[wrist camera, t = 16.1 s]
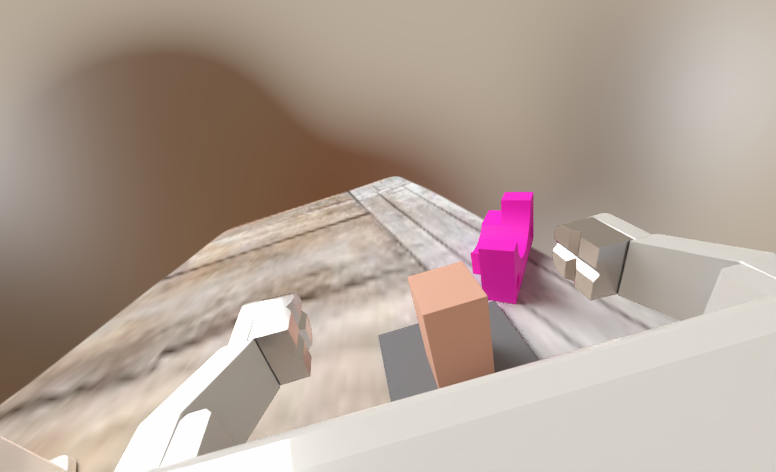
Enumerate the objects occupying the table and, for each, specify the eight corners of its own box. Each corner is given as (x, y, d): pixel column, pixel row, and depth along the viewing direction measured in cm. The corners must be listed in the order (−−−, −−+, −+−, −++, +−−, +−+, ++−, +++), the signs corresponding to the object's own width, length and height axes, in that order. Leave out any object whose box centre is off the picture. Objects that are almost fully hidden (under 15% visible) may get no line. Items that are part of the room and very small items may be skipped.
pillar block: (441, 398, 28) (422, 315, 23) (426, 354, 32) (407, 277, 27) (495, 382, 28) (487, 296, 23) (472, 340, 32) (462, 261, 27)
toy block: (490, 235, 50) (487, 192, 47) (533, 237, 47) (533, 192, 44) (463, 296, 40) (456, 246, 36) (516, 305, 36) (514, 251, 33)
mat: (406, 476, 24) (404, 470, 23) (380, 340, 36) (378, 335, 36) (578, 421, 24) (579, 415, 24) (495, 306, 37) (494, 300, 36)
